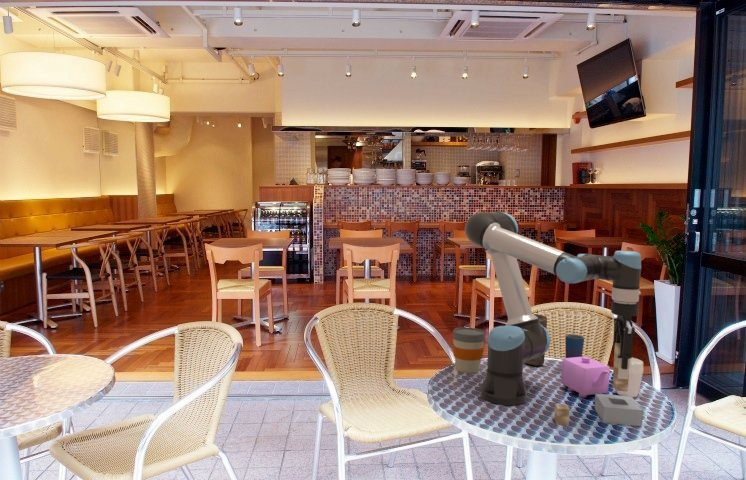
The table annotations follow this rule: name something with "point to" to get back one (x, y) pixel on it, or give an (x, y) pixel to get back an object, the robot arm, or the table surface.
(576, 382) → the teapot
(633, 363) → the cup
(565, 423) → the short peg
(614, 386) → the long peg
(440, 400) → the table surface
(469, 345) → the reusable coffee cup
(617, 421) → the socket block
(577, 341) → the cup
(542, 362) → the candle
